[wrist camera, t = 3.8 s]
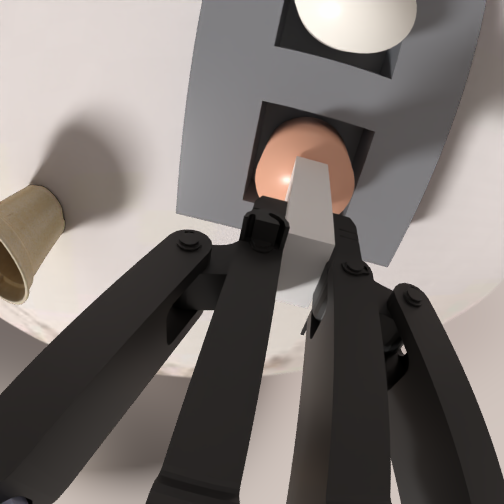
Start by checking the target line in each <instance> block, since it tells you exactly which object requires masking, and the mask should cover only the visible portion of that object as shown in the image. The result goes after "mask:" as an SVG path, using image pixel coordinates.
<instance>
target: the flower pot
mask: <svg viewBox="0 0 504 504" xmlns="http://www.w3.org/2000/svg"><path fill="white" fill-rule="evenodd" d="M64 227H65V221H64V219H63V214H62V207H61V205H60V203H59V202H58V200H57V199H56V197H55V196H54V195H53V194H52V193H51V192H50V191H49V190H48V189H46V188H45V187H43V186H35V185H29V186H27V187H25V188H24V189H22V190H20V191H18V192H16V193H15V194H13V195H11V196H9V197H8V198H6V199H4V200H2V201H1V202H0V298H1V299H3V300H5V301H7V302H9V303H12V304H16V305H20V304H23V303H25V301H26V300H27V299H28V296H29V288H30V287H31V285H32V283H33V277H34V275H35V274H36V272H37V270H38V269H39V267H40V265H41V264H42V262H43V261H44V259H45V257H46V256H47V254H48V253H49V251H50V250H51V248H52V247H53V245H54V244H55V242H56V241H57V240H58V238H59V237H60V235H61V234H62V233H63V230H64Z"/></svg>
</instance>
